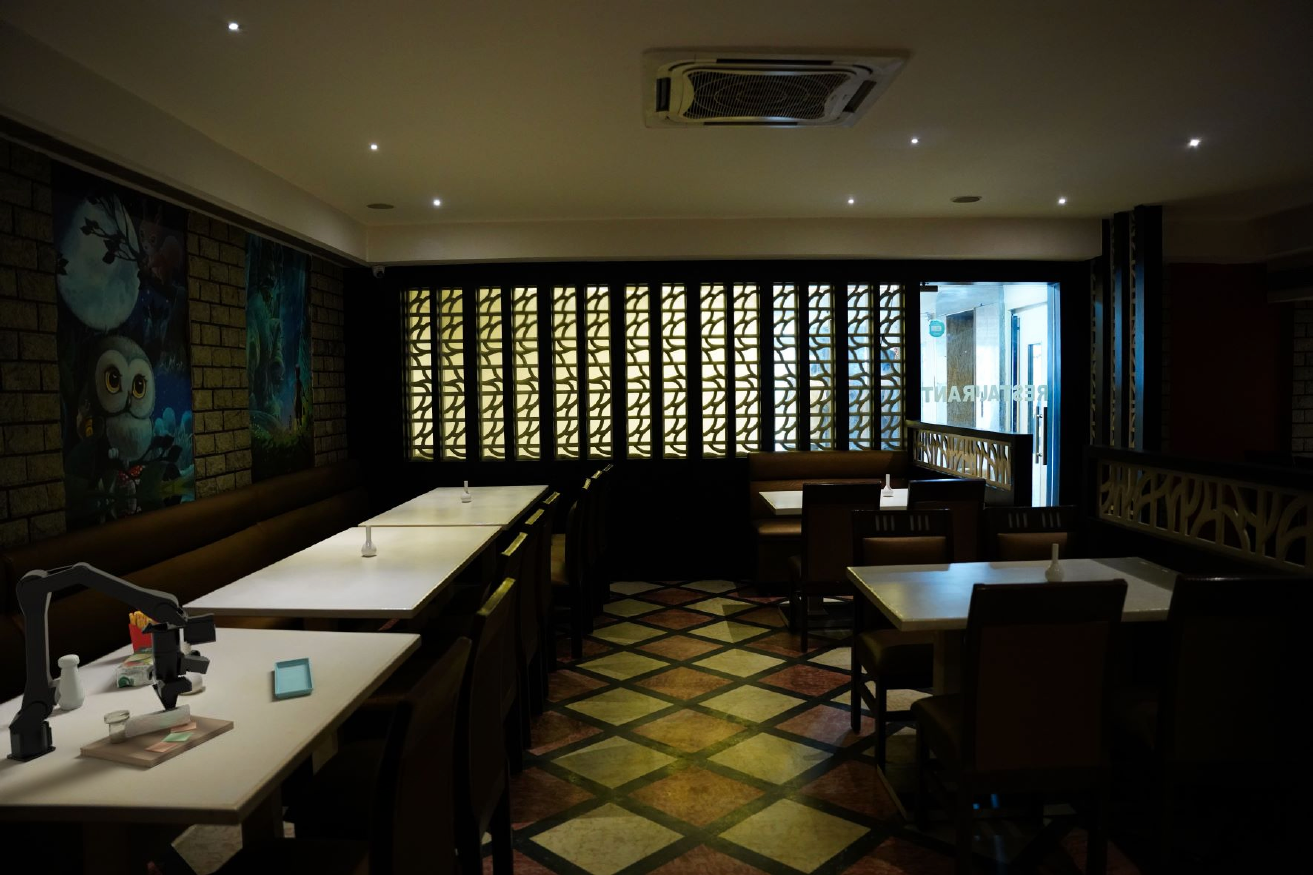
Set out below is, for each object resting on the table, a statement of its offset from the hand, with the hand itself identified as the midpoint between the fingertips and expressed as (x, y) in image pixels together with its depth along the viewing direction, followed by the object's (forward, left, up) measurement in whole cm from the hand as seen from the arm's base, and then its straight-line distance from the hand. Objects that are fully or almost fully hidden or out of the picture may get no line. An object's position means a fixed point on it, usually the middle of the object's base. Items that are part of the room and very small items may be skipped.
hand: (171, 714), depth 194 cm
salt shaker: (+2, +36, -3) cm, 37 cm away
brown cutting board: (-6, -4, -3) cm, 8 cm away
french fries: (+40, +57, -3) cm, 70 cm away
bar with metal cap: (-7, -1, -1) cm, 7 cm away
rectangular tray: (+33, -5, -4) cm, 34 cm away
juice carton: (+26, +40, -4) cm, 48 cm away
